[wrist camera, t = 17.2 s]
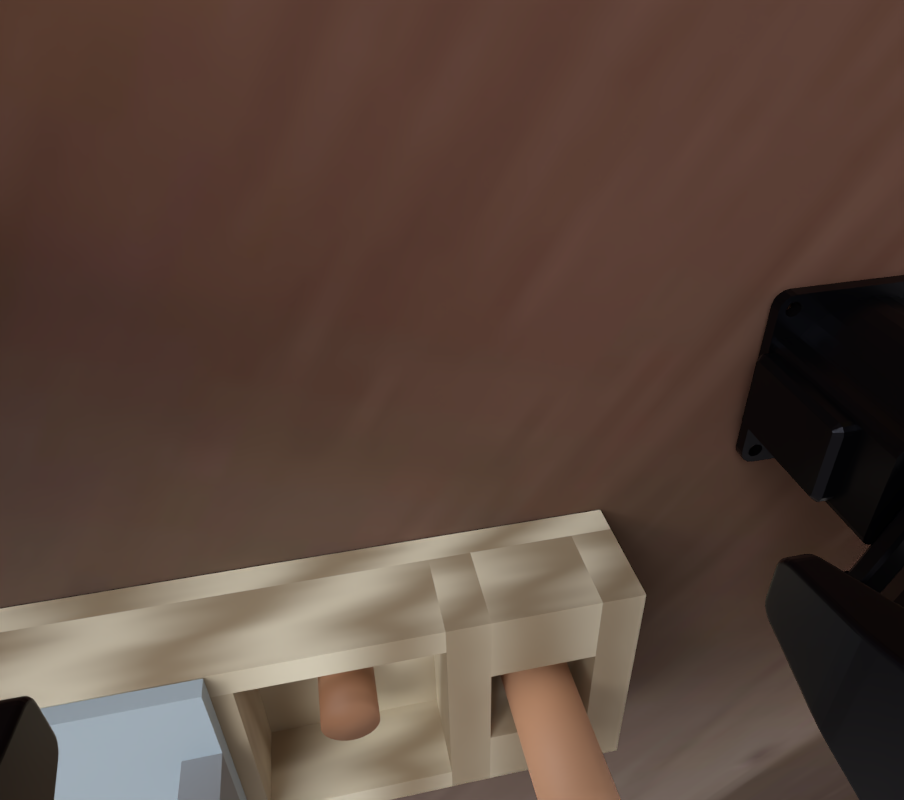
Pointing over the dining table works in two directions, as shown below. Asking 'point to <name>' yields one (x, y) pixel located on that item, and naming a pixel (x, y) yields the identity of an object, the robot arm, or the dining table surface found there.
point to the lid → (143, 747)
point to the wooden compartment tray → (357, 653)
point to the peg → (557, 735)
